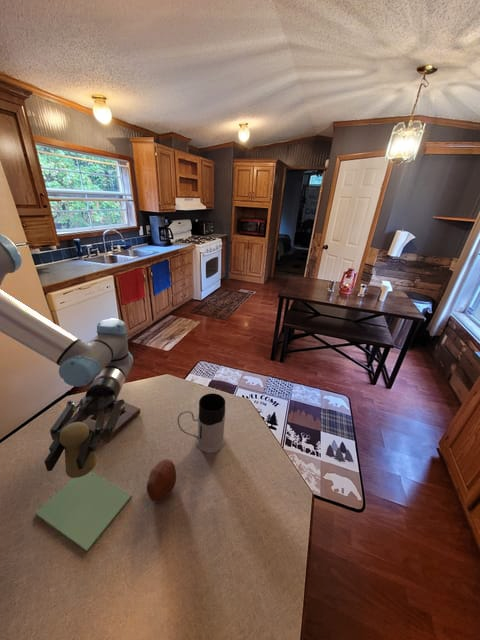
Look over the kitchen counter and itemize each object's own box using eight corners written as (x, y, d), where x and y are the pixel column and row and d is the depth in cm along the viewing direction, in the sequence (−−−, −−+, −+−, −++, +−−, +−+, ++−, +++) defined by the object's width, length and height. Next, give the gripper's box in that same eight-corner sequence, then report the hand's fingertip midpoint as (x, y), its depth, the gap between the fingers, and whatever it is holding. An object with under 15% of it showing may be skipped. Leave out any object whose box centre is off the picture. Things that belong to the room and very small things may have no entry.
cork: (69, 456, 58) (60, 419, 54) (99, 450, 60) (92, 415, 56) (61, 481, 53) (50, 443, 49) (94, 474, 55) (86, 437, 51)
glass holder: (228, 448, 76) (231, 409, 70) (180, 461, 71) (180, 421, 65) (219, 426, 83) (222, 389, 77) (175, 437, 78) (174, 398, 72)
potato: (138, 498, 61) (135, 481, 58) (162, 466, 69) (161, 449, 66) (162, 511, 59) (161, 493, 56) (184, 476, 67) (184, 459, 64)
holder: (75, 426, 78) (74, 421, 77) (110, 400, 90) (110, 395, 89) (107, 443, 74) (106, 437, 73) (140, 413, 86) (140, 408, 85)
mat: (35, 514, 56) (34, 512, 56) (84, 469, 66) (84, 467, 66) (87, 552, 51) (86, 550, 51) (132, 496, 61) (131, 495, 61)
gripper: (140, 397, 73) (114, 475, 52) (73, 399, 70) (17, 481, 49) (138, 376, 70) (110, 449, 49) (68, 376, 67) (6, 454, 46)
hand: (63, 465), depth 49 cm, fingers closed on cork, 5 cm apart
